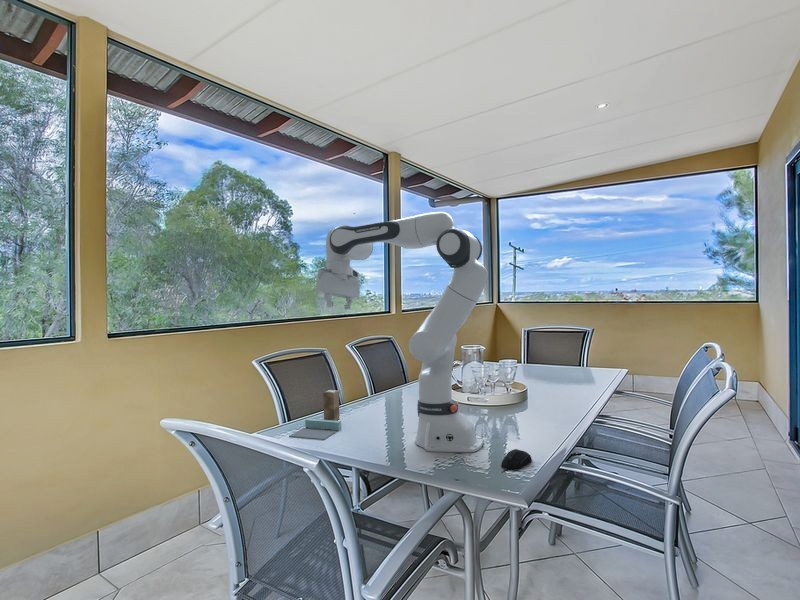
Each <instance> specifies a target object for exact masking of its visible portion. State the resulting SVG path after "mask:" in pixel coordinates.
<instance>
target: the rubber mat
mask: <svg viewBox="0 0 800 600" xmlns="http://www.w3.org/2000/svg"><path fill="white" fill-rule="evenodd" d="M335 432H336V433H337V431H336V430H325V429H313V428H301V429H298V430H297V431H295V432H294V433H292V434H290V435H288V436H289V437H290V438H297V439H309V440H317V439H322V440H321V441H325V440H327V439H328V438H330V437H332V436H333V435H334V434H336V433H335ZM332 434H333V435H332ZM329 436H330V437H329ZM326 438H327V439H326Z"/></svg>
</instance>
